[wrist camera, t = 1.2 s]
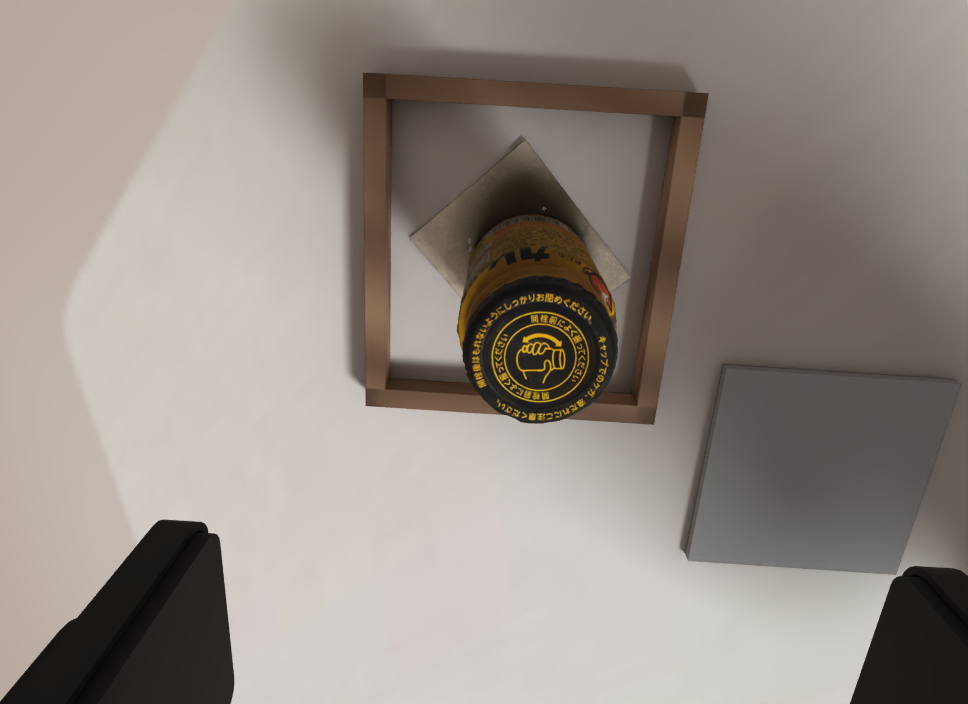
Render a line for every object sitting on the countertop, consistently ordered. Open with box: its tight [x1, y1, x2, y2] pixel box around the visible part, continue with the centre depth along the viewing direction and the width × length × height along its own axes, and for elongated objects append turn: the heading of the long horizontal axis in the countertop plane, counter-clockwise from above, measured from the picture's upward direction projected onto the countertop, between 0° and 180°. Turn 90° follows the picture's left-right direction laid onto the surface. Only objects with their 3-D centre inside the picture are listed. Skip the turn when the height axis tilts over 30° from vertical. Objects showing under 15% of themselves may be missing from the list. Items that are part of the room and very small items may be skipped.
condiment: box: [410, 140, 630, 423], centre depth 27 cm, size 7×8×12 cm
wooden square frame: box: [363, 73, 708, 425], centre depth 32 cm, size 16×15×2 cm
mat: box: [686, 365, 961, 575], centre depth 36 cm, size 12×12×1 cm
